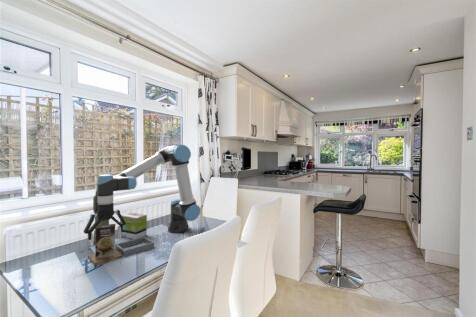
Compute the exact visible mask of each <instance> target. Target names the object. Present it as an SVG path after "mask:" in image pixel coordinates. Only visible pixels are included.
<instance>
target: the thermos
mask: <svg viewBox="0 0 476 317" xmlns="http://www.w3.org/2000/svg"><path fill="white" fill-rule="evenodd" d="M94 194H95V195H94V196H93V198H92V199H93V200H92V201H93V203H92V204H93V206H92V210H93V214H97V213H98V204H99V203H98V193H97V189H96V190H95V193H94ZM97 219H98V217H97V216H96V218H94V223H95V222H96V220H97ZM108 224H110V220H105V221H101V222H100V223H99V224H98V225H108ZM98 225H97V226H98ZM94 242H95V243H94ZM93 243H94V244H96V228H95V229H94V231H93Z"/></svg>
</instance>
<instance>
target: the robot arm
mask: <svg viewBox="0 0 476 317" xmlns="http://www.w3.org/2000/svg"><path fill="white" fill-rule="evenodd" d="M191 154H192V152H191V149H190V148H189V147H188V146H187V145H185V144H170V145H168V146H167V145H166V146H165V147H163V148H162V149H160V150H158V151H156V152H155V154H153V155H152V156H150V157H148V158H146V159H145V160H142V161H140V162H139V163H136V164H135V165H133V166H131V167H129V168H128V169H126V170H124V171H121V172H120V173H118V174H114V175H113V174H99V175H97V181H96V182H97V183H96V187H97V188H96V190H97V193H98V203H99V204H98V213H97V214H94V213H90V217H89V219H88V221H87V224H86V226H85V228H84V230H83V233H84V234H85V235H87V239H88V240H89V246H91V247H94V231H95V228H96V227H97V225H98V224H99V223H100V222H101V221H105V220H109V221H110V220H112V221H113V222H115V224H117V239H119V240H120V239H122V236H121V232H123V226H124V225H126V222H125V221H124V219H123V217H122V216H121V215H122V214H121V211H120V209H116V210H114V209H115V208H114V205H115V204H114V192H120V191H131V190H135V189H136V187H137V178H139V177H140V176H143V175H144V174H146V173H148V172H150V171H152V170H153V169H154V168H156V167H158V166H160V165H165V164H167V163H169V162H171V166H172V167H174V169H175V176H176V177H175V178H176V182H177V188H178V192H179V197H180V198H179V199H173V200H171V201H170V220H169V221H170V222H169V223H168V224H169V225H168V227H167V231H168V232H169V233H172V234H181V233H184V232H187V231H189V228H190V226H189V223H188V221H190V222H193V221H196V219H198V218H199V216H200V214H201V207H200V206H199V205H198V204H197V201H196V199H195V198H194V196H193V190H192V184H191V178H190V174H189V173H190V172H189V167H188V166H189V164H190V159H191V156H192V155H191ZM114 214H115V215H117V217H118V219H119V220H118V219H117V218H115V216H114ZM96 216H97V217H98V219H97V220H96V222H95V218H96ZM120 220H121V222H122V223H120ZM93 222H94V223H93Z"/></svg>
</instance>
